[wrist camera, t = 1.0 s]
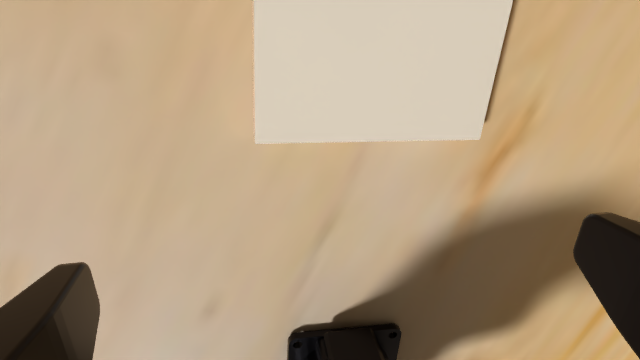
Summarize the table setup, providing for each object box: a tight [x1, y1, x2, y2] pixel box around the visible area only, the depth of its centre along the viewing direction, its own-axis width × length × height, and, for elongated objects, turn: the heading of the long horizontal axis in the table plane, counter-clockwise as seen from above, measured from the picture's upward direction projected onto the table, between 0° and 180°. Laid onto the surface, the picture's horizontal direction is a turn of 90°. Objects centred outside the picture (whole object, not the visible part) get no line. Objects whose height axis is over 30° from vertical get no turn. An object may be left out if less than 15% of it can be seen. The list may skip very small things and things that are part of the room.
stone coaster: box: [252, 0, 513, 144], centre depth 18 cm, size 10×10×1 cm
